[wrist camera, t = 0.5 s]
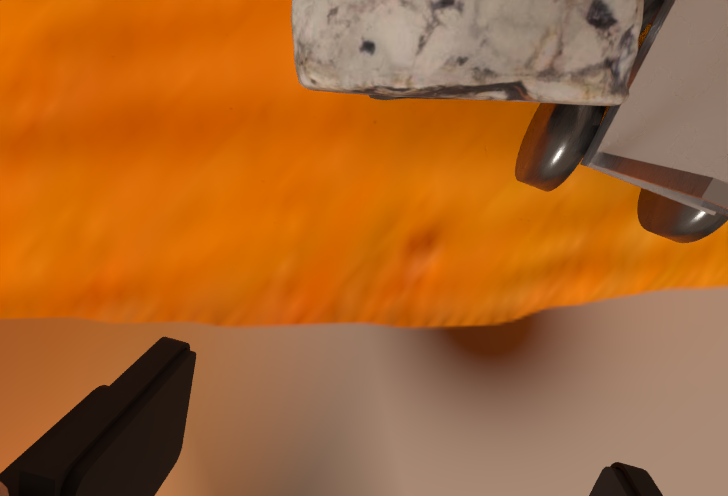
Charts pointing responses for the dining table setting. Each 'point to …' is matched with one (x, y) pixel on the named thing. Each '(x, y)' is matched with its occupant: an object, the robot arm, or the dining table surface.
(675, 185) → the trolley
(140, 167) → the dining table surface
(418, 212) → the dining table surface
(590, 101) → the stone block
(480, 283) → the dining table surface
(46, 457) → the robot arm
